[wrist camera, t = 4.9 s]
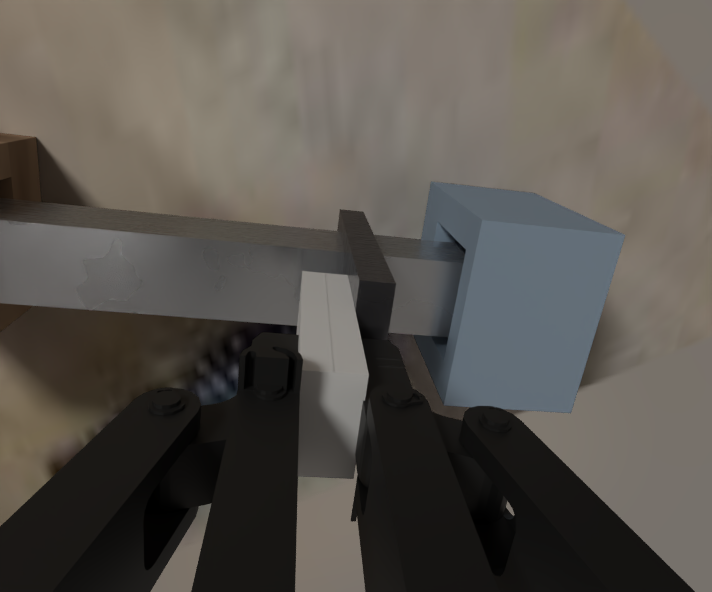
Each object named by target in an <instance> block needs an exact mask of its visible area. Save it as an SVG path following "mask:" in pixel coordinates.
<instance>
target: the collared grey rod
mask: <svg viewBox="0 0 712 592" xmlns="http://www.w3.org/2000/svg"><path fill="white" fill-rule="evenodd" d="M465 253H466V249H465V248H464V247H463V246H462V245H461V244H460V243H459V242H456V241H453V243H451V242H441V241H431V240H421V239H411V238H401V237H391V236H381V235H374V234H373V232H372V230H371V228H370V225H369V223H368V221H367V219H366V217H365V214H364V212H360V211H350V210H341V209H340V213H339V222H338V230H337V231H330V230H320V229H310V228H299V227H289V226H279V225H269V224H259V223H249V222H239V221H228V220H218V219H208V218H198V217H188V216H178V215H168V214H157V213H147V212H137V211H127V210H117V209H107V208H97V207H86V206H76V205H66V204H56V203H46V202H36V201H26V200H15V199H5V198H0V303H5V304H18V305H31V306H44V307H57V308H70V309H84V310H97V311H110V312H123V313H136V314H149V315H162V316H176V317H189V318H202V319H215V320H228V321H241V322H254V323H268V324H281V325H294V326H297V323H298V312H299V302H300V291H301V280H302V271H308V272H319V273H330V274H341V275H348V279H349V283H350V288H351V292H352V297H353V302H354V307H355V311H356V316H357V321H358V326H359V330H360V335H361V338H363V339H376V340H387V339H388V333H399V334H412V335H425V336H438V337H449V332H450V327H451V322H452V317H453V312H454V307H455V302H456V297H457V292H458V287H459V283H460V278H461V273H462V268H463V263H464V258H465Z"/></svg>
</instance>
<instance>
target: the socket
mask: <svg viewBox="0 0 712 592" xmlns="http://www.w3.org/2000/svg"><path fill="white" fill-rule="evenodd" d="M624 238H625V235H624V234H622V233H620V232H618V231H615V230H613V229H611V228H609V227H607V226H605V225H602V224H600V223H598V222H596V221H594V220H592V219H589V218H587V217H585V216H583V215H581V214H579V213H576V212H574V211H572V210H570V209H568V208H566V207H563V206H561V205H559V204H557V203H555V202H553V201H550V200H548V199H546V198H544V197H542V196H540V195H537V194H535V193H528V192H519V191H510V190H501V189H492V188H483V187H475V186H466V185H457V184H448V183H439V182H431V185H430V191H429V197H428V203H427V209H426V215H425V221H424V227H423V232H422V238H421V240H431V241H441V242H451V243H453V241H456V242H459V243H460V244H461V245H462V246H463V247H464V248H465V249H466V253H465V258H464V263H463V268H462V273H461V278H460V283H459V287H458V292H457V297H456V302H455V307H454V312H453V317H452V322H451V327H450V332H449V337H438V336H425V335H414V338H415V340H416V342H417V345H418V347H419V349H420V352H421V354H422V356H423V359H424V361H425V363H426V366H427V368H428V370H429V372H430V375H431V377H432V379H433V382H434V384H435V386H436V389H437V391H438V393H439V396H440V398H441V400H442V403H443V405H444V406H461V407H475V406H494V407H495V408H496V407H498V408H501V409H511V410H527V411H544V412H561V413H571V411H572V408H573V405H574V401H575V398H576V395H577V392H578V388H579V385H580V382H581V379H582V375H583V372H584V369H585V365H586V362H587V359H588V356H589V352H590V349H591V346H592V342H593V339H594V336H595V333H596V329H597V326H598V323H599V320H600V316H601V313H602V310H603V306H604V303H605V300H606V297H607V293H608V290H609V287H610V284H611V280H612V277H613V274H614V270H615V267H616V264H617V261H618V257H619V254H620V251H621V248H622V244H623V241H624Z"/></svg>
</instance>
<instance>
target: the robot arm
mask: <svg viewBox="0 0 712 592" xmlns="http://www.w3.org/2000/svg"><path fill="white" fill-rule="evenodd" d="M355 465H357V473H358V476H357V483H356V490H355V497H354V503H353V509H352V516H351V521H356V517H357V518H358V527H359V536H360V545H361V555H362V564H363V573H364V582H365V590H366V592H695V591H694V590H693V589H692V588H691V587H690V586H688V584H687V583H685V581H683V579H681V578H680V577H679V576H678V575H677V574H676V573H675V572H674V571H673V570H672V569H671V568H670V567H669V566H668V565H667V564H666V563H665V562H664V561H663V560H662V559H661V558H660V557H659V556H658V555H657V554H656V553H655V552H654V551H653V550H652V549H651V548H650V547H649V546H648V545H647V544H646V543H645V542H644V541H643V540H642V539H641V538H640V537H639V536H638V535H637V534H636V533H635V532H634V531H633V530H632V529H631V528H630V527H629V526H628V525H627V524H625V522H624V521H623V520H622V519H620V518H619V517H618V516H617V515H616V514H615V513H614V512H613V511H612V510H611V509H610V508H609V507H608V506H607V505H606V504H605V503H604V502H603V501H602V500H601V499H600V498H599V497H598V496H597V495H596V494H595V493H594V492H593V491H592V490H591V489H590V488H589V487H588V486H587V485H586V484H585V483H584V482H583V481H582V480H581V479H580V478H579V477H578V476H576V474H575V473H574V472H573V471H572V470H571V469H570V468H569V467H568V466H566V464H565V463H563V461H562V460H561V459H559V457H558V456H556V455H555V454H554V453H553V452H552V451H551V450H550V449H549V448H548V447H547V446H546V445H545V444H544V443H543V442H542V441H541V440H540V439H539V438H538V437H537V436H536V435H535V434H534V433H533V432H532V431H531V430H530V429H529V428H528V427H527V426H526V425H525V424H524V423H523V422H522V421H521V420H520V419H518V418H517V417H516V416H514V415H513V414H511V413H509V412H507V411H505V410H503V409H501V408H498V407H496V408H495V407H494V406H475V407H471V408H469V409H468V410H467V411H465V413H464V417H463V421H461V420H457V419H453V418H449V417H445V416H442V415H439V414H436V413H434V412H432V411H431V408H430V406H429V403H428V401H427V400H426V398H425V397H424V395H422V394H421V393H419V392H418V391H416V390H414V389H412V386H411V383H410V380H409V378H408V375H407V372H406V369H405V366H404V363H403V361H402V357H401V354H400V351H399V349H398V348H397V347H396V346H394V345H393V344H392V343H391V342H390V341H389V340H376V339H363V338H361V335H360V330H359V326H358V321H357V316H356V311H355V307H354V302H353V297H352V292H351V288H350V283H349V279H348V275H341V274H330V273H319V272H308V271H302V280H301V291H300V302H299V312H298V323H297V334H296V335H293V334H280V333H267V332H262V333H261V334H259V335H258V336H257V337H256V338H254V339H253V341H252V346H250V347H249V348H247V349H245V350H243V351H242V353H241V354H240V358H239V377H238V391H237V395H236V396H235V397H233V398H231V399H230V400H227V401H224V402H221V403H217V404H212V405H204V406H201V403H200V400H199V397H197V396H196V395H195V394H193V393H192V392H190V391H187V390H184V389H177V388H160V389H155V390H152V391H149V392H146V393H143V394H142V395H140V396H139V397H137V398H136V399H135V400H133V401H132V402H131V403H130V404H129V405H128V406H127V407H126V408H125V409H124V410H123V411H122V412H121V413H120V414H119V415H118V416H117V417H115V418H114V419H113V420H112V421H111V422H110V423H109V424H108V425H107V426H106V427H105V428H104V429H103V430H102V431H101V432H100V433H99V434H98V435H96V436H95V437H94V438H93V439H92V440H91V441H90V442H89V443H88V444H87V445H86V446H85V447H84V448H83V449H82V450H81V451H80V452H78V453H77V454H76V455H75V456H74V457H73V458H72V459H71V460H70V461H69V462H68V463H67V464H66V465H65V466H64V467H63V468H62V469H61V470H59V471H58V472H57V473H56V474H55V475H54V476H53V477H52V478H51V479H50V480H49V481H48V482H47V483H46V484H45V485H44V486H43V487H41V488H40V489H39V490H38V491H37V492H36V493H35V494H34V495H33V496H32V497H31V498H30V499H29V500H28V501H27V502H26V503H25V504H24V505H22V506H21V507H20V508H19V509H18V510H17V511H16V512H15V513H14V514H13V515H12V516H11V517H10V518H9V519H8V520H7V521H6V522H4V523H3V524H2V525H1V526H0V592H150V591H151V590H152V588H153V586H154V585H155V583H156V581H157V580H158V578H159V576H160V575H161V573H162V571H163V569H164V568H165V566H166V565H167V563H168V561H169V560H170V558H171V557H172V555H173V553H174V552H175V550H176V548H177V547H178V545H179V543H180V542H181V540H182V538H183V537H184V535H185V533H186V532H187V530H188V529H189V527H190V525H191V524H192V522H193V520H194V519H195V517H196V514H197V511H198V506H201V505H206V504H210V503H212V504H211V509H210V513H209V517H208V522H207V526H206V530H205V535H204V539H203V543H202V548H201V552H200V556H199V561H198V565H197V569H196V574H195V578H194V583H193V587H192V591H191V592H295V568H296V526H297V525H296V524H297V487H298V476H303V477H325V478H347V479H353V478H354V472H355ZM507 501H508V502H509V503H510V505H511V507H512V508H513V511H514V514H515V515H514V516H513V515H512V514H511V513H510V512H509V511H508V509H507V508H506V504H507Z"/></svg>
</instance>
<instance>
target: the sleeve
mask: <svg viewBox="0 0 712 592" xmlns="http://www.w3.org/2000/svg"><path fill="white" fill-rule="evenodd" d="M0 198H5V199H15V200H26V201H36V202H41V190H40V178H39V166H38V154H37V142H36V137H30V136H21V135H12V134H3V133H0ZM31 307H32V306H31V305H18V304H5V303H0V332H1V331H2V330H3V329H5V328H6V327H7V326H8V325H10V324H11V323H12V322H13V321H15V320H16V319H17V318H18V317H20V316H21V315H22V314H23V313H25V312H26V311H27V310H28V309H30V308H31Z"/></svg>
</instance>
